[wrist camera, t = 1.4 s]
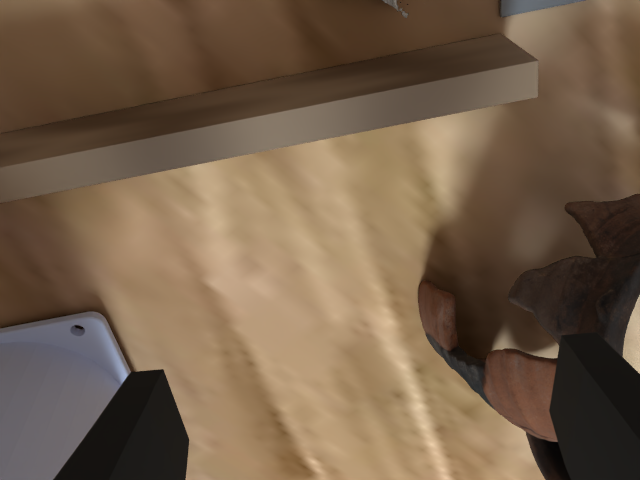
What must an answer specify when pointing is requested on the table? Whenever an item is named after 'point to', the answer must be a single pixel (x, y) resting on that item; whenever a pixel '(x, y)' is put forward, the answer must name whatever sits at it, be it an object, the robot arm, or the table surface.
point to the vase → (396, 6)
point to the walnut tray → (265, 116)
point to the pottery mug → (550, 321)
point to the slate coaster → (529, 5)
